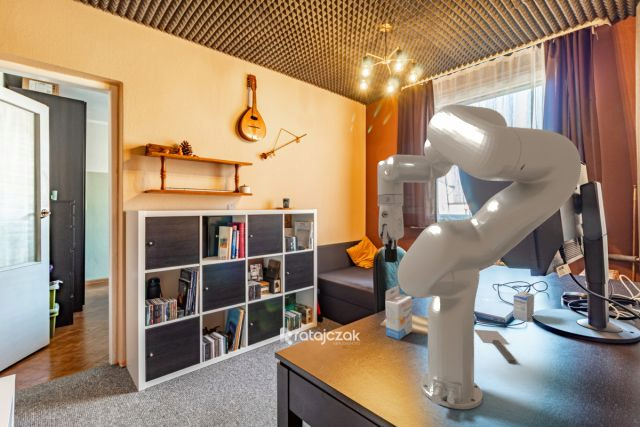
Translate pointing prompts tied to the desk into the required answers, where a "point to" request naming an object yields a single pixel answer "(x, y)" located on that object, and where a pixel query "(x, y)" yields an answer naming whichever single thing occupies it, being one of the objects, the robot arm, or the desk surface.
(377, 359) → the desk surface
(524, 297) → the medicine box
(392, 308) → the ink box
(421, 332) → the cork mat
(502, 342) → the steel turner
